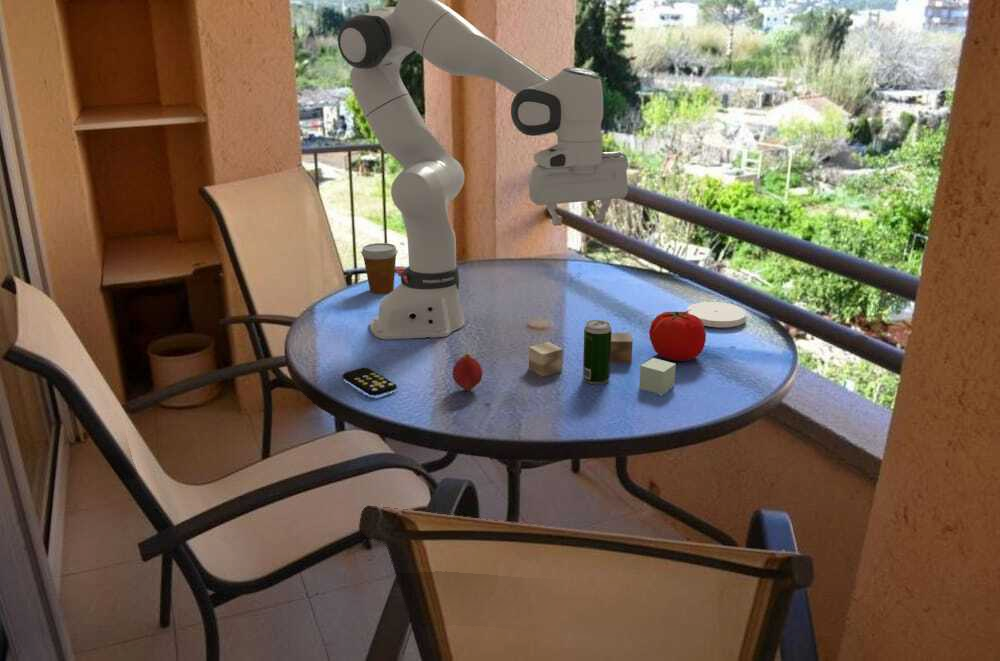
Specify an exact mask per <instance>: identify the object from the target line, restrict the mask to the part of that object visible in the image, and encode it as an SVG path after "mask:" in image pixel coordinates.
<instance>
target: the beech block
mask: <svg viewBox="0 0 1000 661" xmlns="http://www.w3.org/2000/svg"><path fill="white" fill-rule="evenodd" d="M563 349H564V348H561V347H559V346H557V345H556V344H554V343H551V342H550V341H546V342H542V343H540V344H539V343H538V344H534V345H531V346H529V347H528V369H529V370H531V371H532V370H533V371H532V372H534V371H535V372H534V373H536V374H537V373H538V374H537V375H539V374H540V375H541V376H540V375H539V376H540V377H542V376H543V377H546V376H545V375H547V376H550V375H554V374H558V373H562V372H563V359H564V358H563V357H564V356H563V355H564V354H563V352H564V350H563ZM557 372H558V373H557ZM553 373H554V374H553ZM549 374H550V375H549Z"/></svg>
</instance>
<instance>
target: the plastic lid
mask: <svg viewBox="0 0 1000 661" xmlns="http://www.w3.org/2000/svg"><path fill="white" fill-rule="evenodd" d="M691 309H692V310H691ZM688 310H690V311H688ZM686 311H688V313H689V314H691V315H694V316H696V317H698V318H699V319H700V320H701V321H702V322H703V326H704V327H709V328H710V327H712V328H733V327H738V326H741V325H743V324H745V322H746V321H747V315H748V314H747V311H746V310H745V309H744V308H742V307H740V306H738V305H735V304H730V303H725V302H716V301H703V302H696V303H692V304H691V305H688V306H687V307H686ZM686 311H685V312H686Z"/></svg>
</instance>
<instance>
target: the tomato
mask: <svg viewBox="0 0 1000 661" xmlns="http://www.w3.org/2000/svg"><path fill="white" fill-rule="evenodd" d="M691 310H692V309H691ZM688 311H690V310H688ZM688 311H664V312H662V313H660V314H658V315H656V317H654V319H653V320H652V321H651V324H650V326H649V327H650V328H649V331H648V333H649V340H650V343H651V346H652V347H653V349H654V351H655V352H656V354H658V355H659V356H661V357H663V358H665V359H666V360H671V361H686V362H687V361H690V360H694V359H695V358H697V357H698V356H699V355H700V354H701V353H702V352H703V350H704V348H705V344H706V338H707V333H706V329H705V325H703V322H702V321H701V320H700V319H699V318H698V317H696V316H694V315H691V314H689V313H688Z"/></svg>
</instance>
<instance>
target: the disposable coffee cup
mask: <svg viewBox="0 0 1000 661" xmlns="http://www.w3.org/2000/svg"><path fill="white" fill-rule="evenodd" d="M360 253H361V255H362V257H363V262H364V267H365V273H366V277H367V282H368V288H369V292H370V293H372V294H374V295H375V294H376V295H385V294H386V295H387V294H389V293H391V292H392V291H393V290H394V289H395V275H396V274H395V273H396V272H395V271H396V261H397V259H396V258H397V255H398V249H397V247H396V245H395V244H393V243H387V242H378V243H369V244H365V245H364V246H363V247H362V251H361V252H360Z"/></svg>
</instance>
